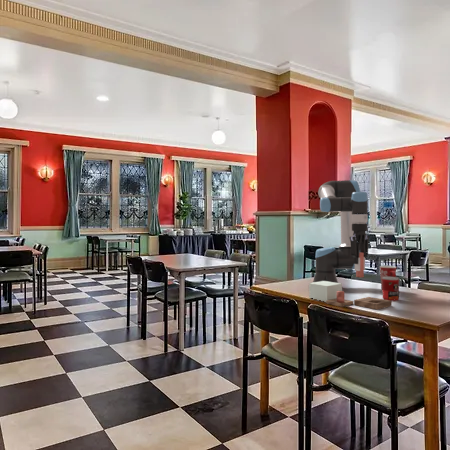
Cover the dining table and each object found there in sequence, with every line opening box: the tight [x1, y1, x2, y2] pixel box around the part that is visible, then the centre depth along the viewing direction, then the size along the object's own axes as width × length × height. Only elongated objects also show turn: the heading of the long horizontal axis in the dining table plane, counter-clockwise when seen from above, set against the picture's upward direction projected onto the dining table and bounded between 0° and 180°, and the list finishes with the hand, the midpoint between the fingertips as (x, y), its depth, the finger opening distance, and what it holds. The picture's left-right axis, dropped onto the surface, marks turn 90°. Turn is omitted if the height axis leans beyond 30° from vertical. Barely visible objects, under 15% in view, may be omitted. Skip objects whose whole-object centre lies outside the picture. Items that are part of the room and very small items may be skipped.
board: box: [325, 290, 354, 308], centre depth 192 cm, size 9×9×6 cm
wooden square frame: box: [353, 296, 393, 311], centre depth 188 cm, size 12×12×2 cm
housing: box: [308, 281, 343, 303], centre depth 204 cm, size 12×12×8 cm
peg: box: [355, 252, 365, 278], centre depth 198 cm, size 4×4×12 cm
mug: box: [379, 265, 397, 291], centre depth 224 cm, size 13×9×14 cm
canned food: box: [382, 276, 400, 302], centre depth 202 cm, size 8×8×11 cm
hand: (359, 270), depth 198 cm, fingers closed on peg, 3 cm apart
